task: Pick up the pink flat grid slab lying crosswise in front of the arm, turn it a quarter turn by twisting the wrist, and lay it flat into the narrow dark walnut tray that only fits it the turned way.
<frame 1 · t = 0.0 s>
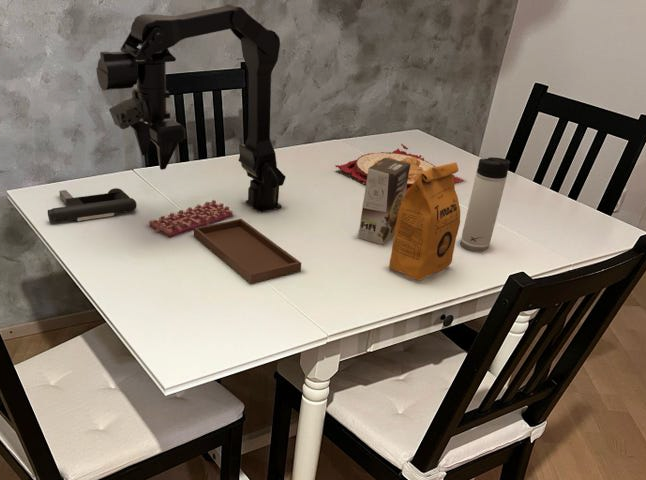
hand: (153, 162, 157), 15 cm above the table, tool pointing down, fingers open, 9 cm apart
tray: (245, 253, 156), on the table
coffee box: (378, 235, 167), on the table
coffee package: (419, 270, 154), on the table
pink flat grid slab: (190, 222, 168), on the table
plate with food: (398, 176, 199), on the table
travel mug: (474, 247, 165), on the table
door handle: (87, 208, 172), on the table
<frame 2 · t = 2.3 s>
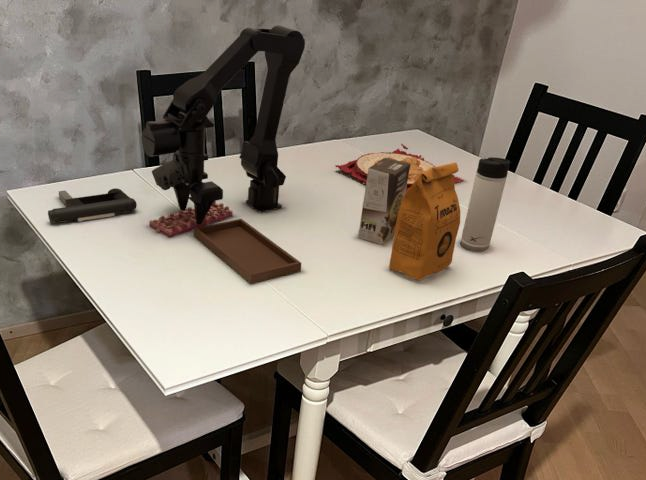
hand: (190, 217, 167), 1 cm above the table, tool pointing down, fingers closed on pink flat grid slab, 7 cm apart
pink flat grid slab: (190, 222, 168), on the table, touching gripper
everything else where it was.
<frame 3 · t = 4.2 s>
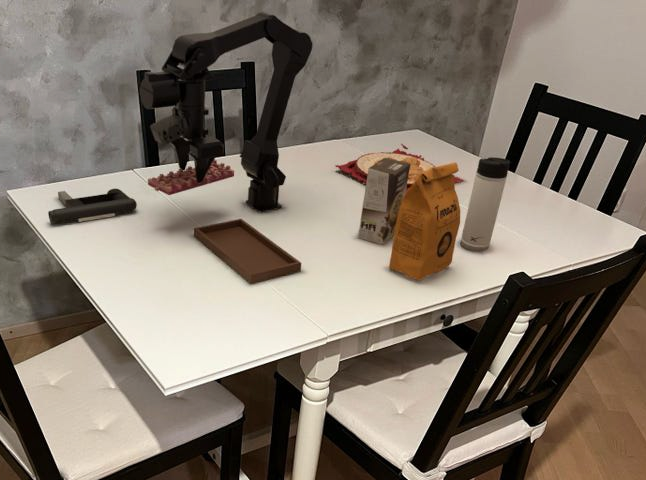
hand: (190, 176, 162), 11 cm above the table, tool pointing down, fingers closed on pink flat grid slab, 7 cm apart
pink flat grid slab: (190, 181, 163), point 9 cm above the table, touching gripper
everything else where it was.
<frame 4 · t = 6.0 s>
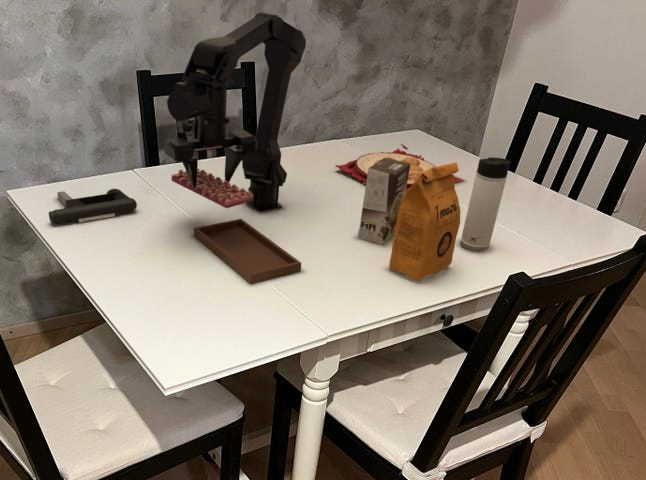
hand: (210, 185, 157), 11 cm above the table, tool pointing down, fingers closed on pink flat grid slab, 7 cm apart
pink flat grid slab: (210, 190, 158), point 10 cm above the table, touching gripper
everything else where it was.
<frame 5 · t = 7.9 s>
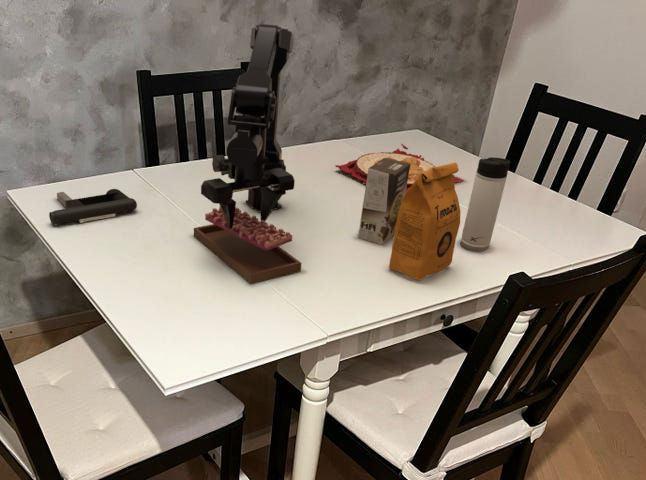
hand: (246, 224, 153), 6 cm above the table, tool pointing down, fingers closed on pink flat grid slab, 7 cm apart
pink flat grid slab: (246, 230, 153), point 5 cm above the table, touching gripper
everything else where it was.
when the fingers open (3 cm above the table, at t = 9.3 s): pink flat grid slab stays where it is, resting on tray.
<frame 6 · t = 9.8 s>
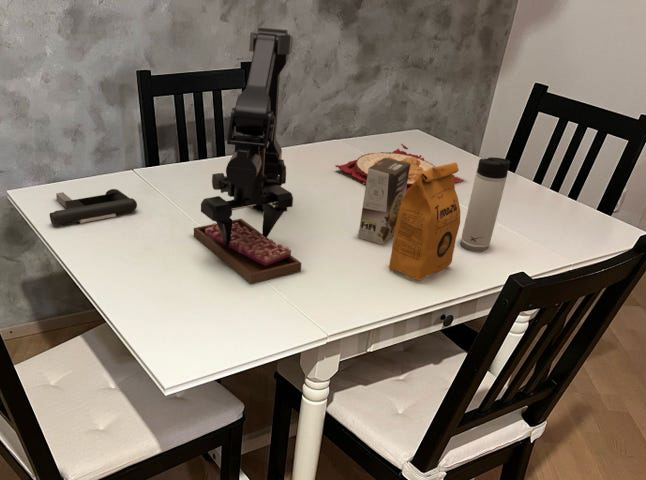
hand: (245, 241, 155), 3 cm above the table, tool pointing down, fingers open, 9 cm apart
pink flat grid slab: (245, 245, 155), point 2 cm above the table, touching tray
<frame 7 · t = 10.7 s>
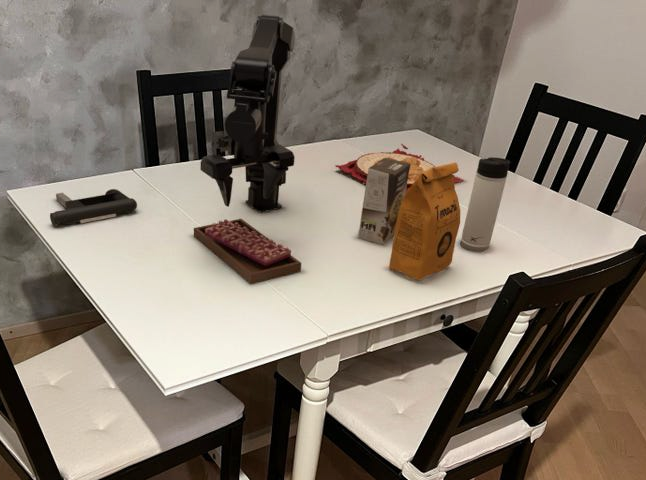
hand: (246, 202, 152), 11 cm above the table, tool pointing down, fingers open, 9 cm apart
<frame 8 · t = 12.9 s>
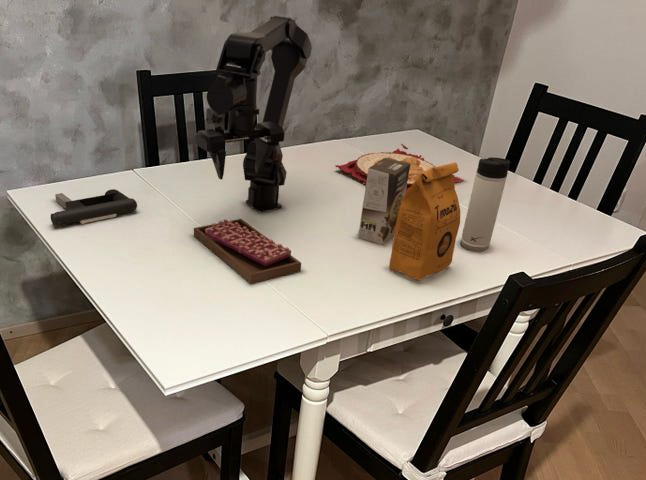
hand: (239, 175, 160), 12 cm above the table, tool pointing down, fingers open, 9 cm apart
at the end: pink flat grid slab 0.1 cm off-centre in the tray, point 1.8 cm above the tray's base; pink flat grid slab tilted 0°; the gripper is holding nothing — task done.
